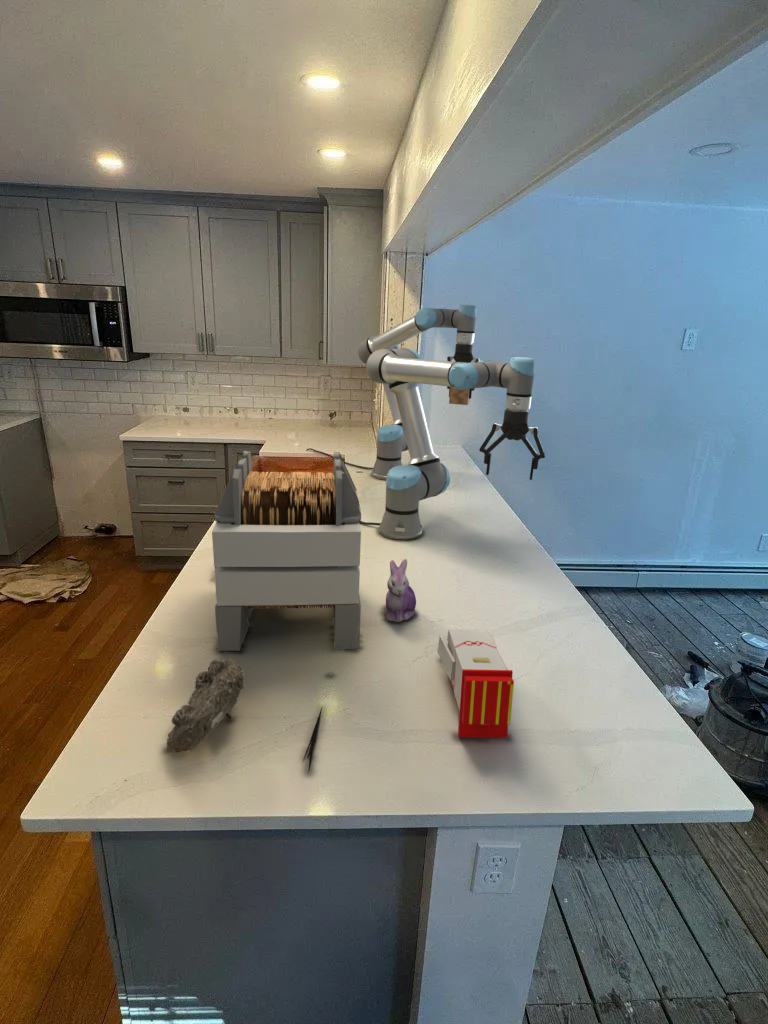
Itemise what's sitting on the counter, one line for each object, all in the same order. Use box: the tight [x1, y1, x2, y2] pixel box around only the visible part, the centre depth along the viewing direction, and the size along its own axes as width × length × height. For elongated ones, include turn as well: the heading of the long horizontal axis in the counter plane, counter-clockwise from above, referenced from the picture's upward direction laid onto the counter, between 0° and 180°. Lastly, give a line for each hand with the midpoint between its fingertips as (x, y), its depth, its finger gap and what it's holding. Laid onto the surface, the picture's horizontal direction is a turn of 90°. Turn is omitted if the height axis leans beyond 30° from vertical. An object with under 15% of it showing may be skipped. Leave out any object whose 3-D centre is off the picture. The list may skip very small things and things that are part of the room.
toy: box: [437, 628, 515, 738], centre depth 117 cm, size 12×13×30 cm
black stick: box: [301, 673, 332, 771], centre depth 108 cm, size 2×28×2 cm
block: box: [448, 387, 471, 406], centre depth 248 cm, size 8×8×8 cm
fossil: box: [166, 658, 245, 754], centre depth 106 cm, size 22×10×15 cm
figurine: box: [384, 558, 417, 623], centre depth 145 cm, size 9×10×15 cm
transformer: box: [211, 450, 362, 653], centre depth 138 cm, size 34×33×41 cm
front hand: (509, 476), depth 181 cm, fingers open, 13 cm apart
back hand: (459, 397), depth 248 cm, fingers closed on block, 8 cm apart
